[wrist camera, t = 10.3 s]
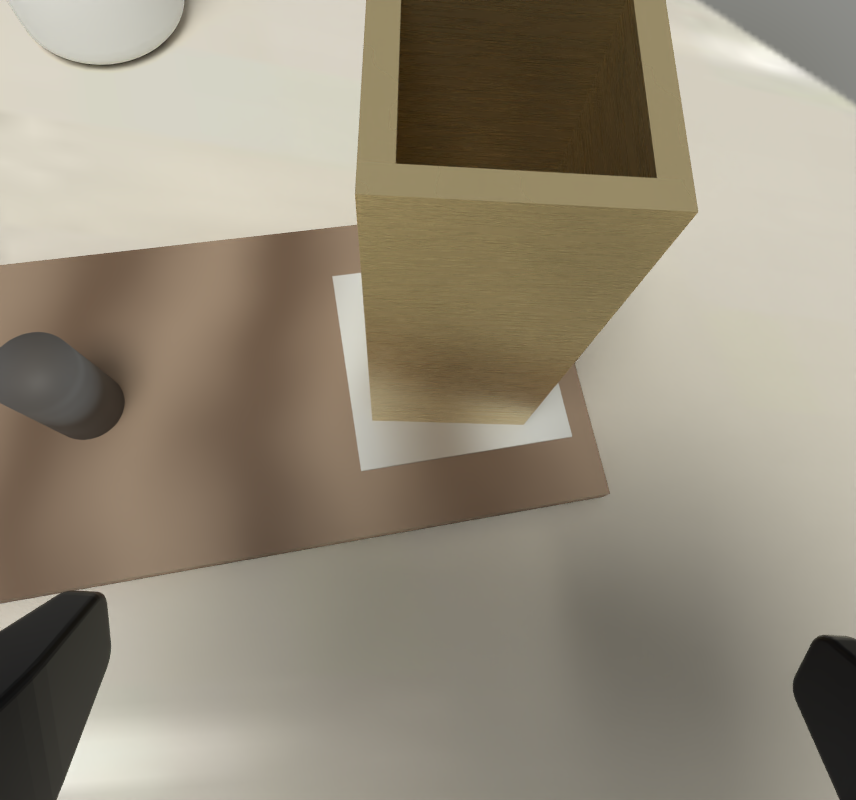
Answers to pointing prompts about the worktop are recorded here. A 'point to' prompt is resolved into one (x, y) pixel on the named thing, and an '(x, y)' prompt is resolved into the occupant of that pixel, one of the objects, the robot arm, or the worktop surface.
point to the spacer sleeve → (509, 193)
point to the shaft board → (231, 418)
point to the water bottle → (99, 27)
